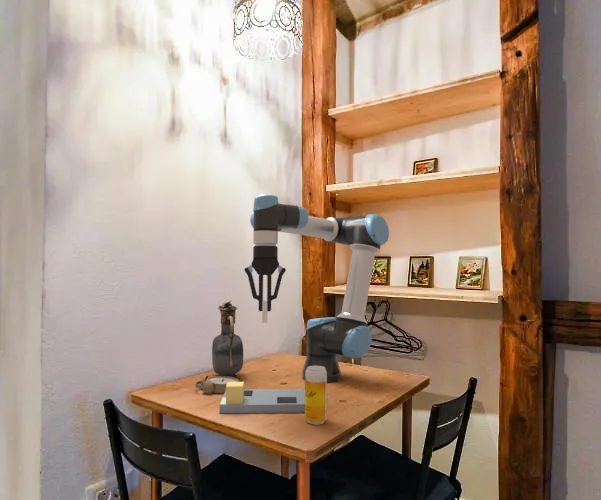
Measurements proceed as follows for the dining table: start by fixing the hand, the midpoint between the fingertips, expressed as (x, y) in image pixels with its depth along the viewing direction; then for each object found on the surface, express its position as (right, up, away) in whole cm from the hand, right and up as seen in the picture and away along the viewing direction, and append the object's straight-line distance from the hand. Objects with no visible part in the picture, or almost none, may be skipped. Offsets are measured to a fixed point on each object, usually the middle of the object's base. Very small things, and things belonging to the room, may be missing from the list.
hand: (264, 321), depth 130 cm
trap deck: (0, -27, +3) cm, 27 cm away
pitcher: (-17, -27, +31) cm, 45 cm away
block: (-9, -24, -1) cm, 26 cm away
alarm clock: (-18, -27, +18) cm, 37 cm away
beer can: (+15, -27, -11) cm, 32 cm away
